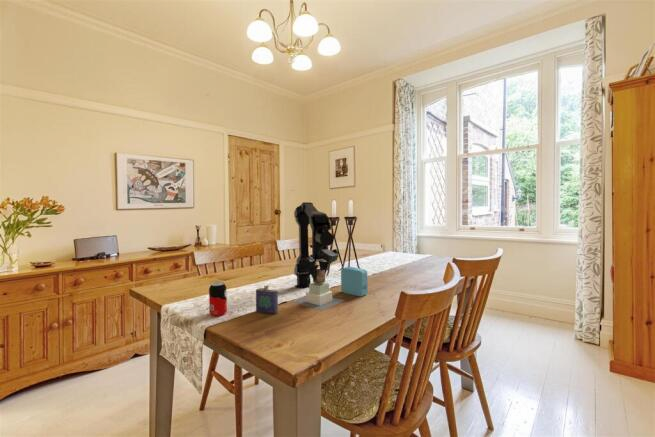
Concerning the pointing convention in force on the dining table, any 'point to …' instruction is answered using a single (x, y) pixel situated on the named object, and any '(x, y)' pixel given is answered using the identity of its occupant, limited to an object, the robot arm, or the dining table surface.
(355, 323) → the dining table surface
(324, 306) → the slate mat
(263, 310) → the flask
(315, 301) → the tower base
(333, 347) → the dining table surface
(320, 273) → the brown small cylinder
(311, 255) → the robot arm
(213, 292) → the beverage can
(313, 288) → the tower top
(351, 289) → the data package
